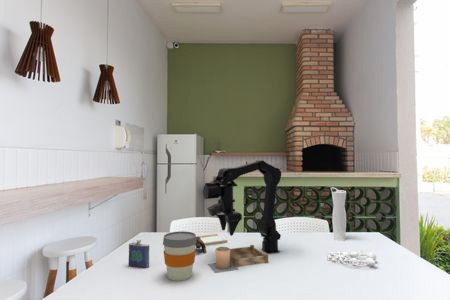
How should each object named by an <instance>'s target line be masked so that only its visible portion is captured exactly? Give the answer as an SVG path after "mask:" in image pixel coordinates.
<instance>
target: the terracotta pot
mask: <svg viewBox="0 0 450 300" xmlns="http://www.w3.org/2000/svg"><path fill="white" fill-rule="evenodd" d="M230 249H231V248H230V247H227V246H218V247H216V248H215V251H214V252H215V255H214V256H215V258H214V259H215V260H214V261H215V262H214V263H215V267H216V268H217V269H228V268H230Z"/></svg>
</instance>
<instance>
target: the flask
mask: <svg viewBox="0 0 450 300" xmlns="http://www.w3.org/2000/svg"><path fill="white" fill-rule="evenodd" d="M128 267H131V268H138V269H139V268H140V269H141V268H142V269H147V268H149V267H150V244H148V243H142V240H141V239H137V240H136V242H135V241H134V242H130V243H129V244H128Z"/></svg>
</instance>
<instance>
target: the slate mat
mask: <svg viewBox="0 0 450 300" xmlns="http://www.w3.org/2000/svg"><path fill="white" fill-rule="evenodd" d="M207 265H208V266H209V268H210V269H211V271H212V272H213V273H214V274H218V273H225V272H226V273H227V272H233V271H239V270H240V269H239V267H235V266H234V264H232V263H231V262H230V268H228V269H217V268H216V267H215V262H213V263H207Z"/></svg>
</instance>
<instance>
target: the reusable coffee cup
mask: <svg viewBox="0 0 450 300" xmlns="http://www.w3.org/2000/svg"><path fill="white" fill-rule="evenodd" d="M196 236H197V235H196V233H195V232H190V231H184V230H183V231H172V232H168V233H166V234H164V235H163V239H162V240H163V241H162V246H163V249H164V250H163V258H164V264H165V266H166V273H167V274H166V275H167V278H168V279H170V280H171V281H178V282H180V281H185V280H188V279H190V278H191V277H192V274H193V266H194V263H195V260H196V251H197V250H196V249H197V248H196V246H195V244H196Z"/></svg>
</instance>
